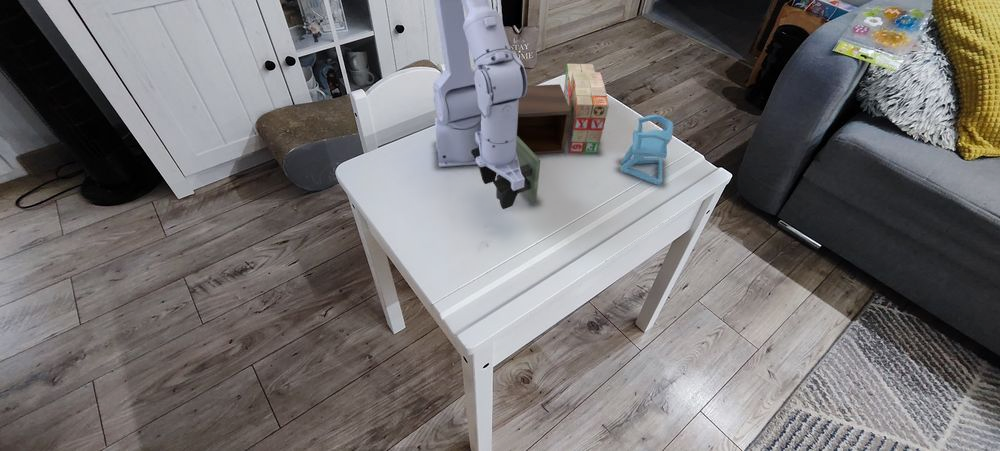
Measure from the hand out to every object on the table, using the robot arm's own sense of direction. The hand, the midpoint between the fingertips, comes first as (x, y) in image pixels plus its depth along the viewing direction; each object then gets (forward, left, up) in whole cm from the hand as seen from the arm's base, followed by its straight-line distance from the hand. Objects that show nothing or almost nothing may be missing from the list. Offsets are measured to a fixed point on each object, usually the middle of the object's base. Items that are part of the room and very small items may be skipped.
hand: (497, 193), depth 84 cm
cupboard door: (+1, +6, -4) cm, 7 cm away
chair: (+31, +8, -4) cm, 32 cm away
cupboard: (+9, +20, -4) cm, 22 cm away
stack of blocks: (+22, +25, -4) cm, 33 cm away
